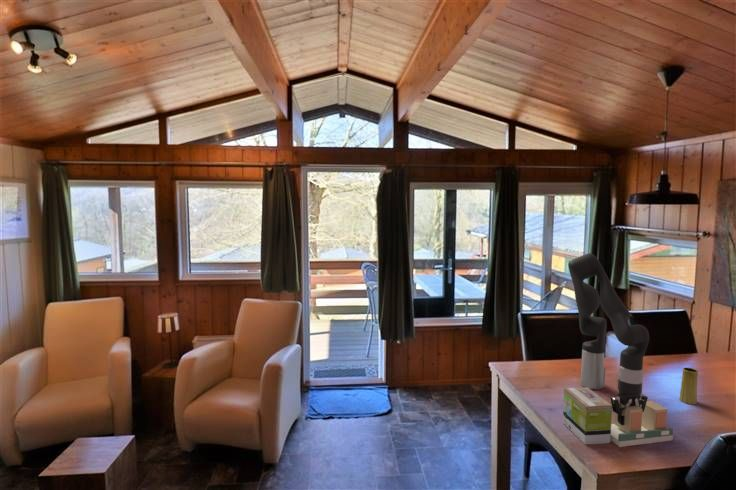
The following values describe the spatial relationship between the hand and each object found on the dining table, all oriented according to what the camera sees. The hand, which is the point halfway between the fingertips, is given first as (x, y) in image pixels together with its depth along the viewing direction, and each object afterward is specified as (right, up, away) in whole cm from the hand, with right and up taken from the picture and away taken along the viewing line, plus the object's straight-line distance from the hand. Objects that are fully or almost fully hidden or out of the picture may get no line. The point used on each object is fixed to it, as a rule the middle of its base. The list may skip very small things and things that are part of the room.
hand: (627, 423), depth 154 cm
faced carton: (+10, -3, +2) cm, 11 cm away
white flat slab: (+3, -5, +1) cm, 6 cm away
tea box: (-14, -5, +3) cm, 15 cm away
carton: (0, -2, 0) cm, 2 cm away
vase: (+44, -3, +28) cm, 52 cm away
